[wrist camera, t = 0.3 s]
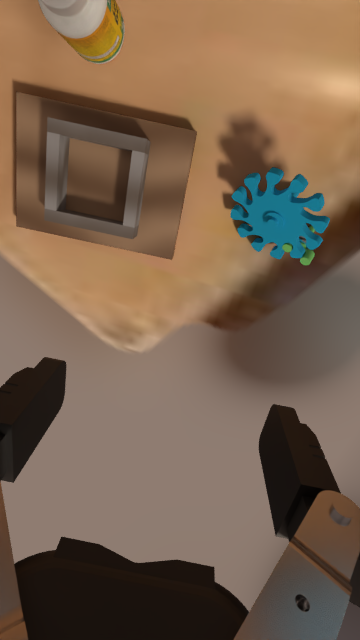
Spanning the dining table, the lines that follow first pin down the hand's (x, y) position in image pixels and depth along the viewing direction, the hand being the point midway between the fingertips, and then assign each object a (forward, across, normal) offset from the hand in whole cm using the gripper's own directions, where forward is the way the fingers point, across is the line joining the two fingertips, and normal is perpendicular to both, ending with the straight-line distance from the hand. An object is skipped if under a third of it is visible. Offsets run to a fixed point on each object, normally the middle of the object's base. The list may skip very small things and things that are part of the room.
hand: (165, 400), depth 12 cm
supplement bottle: (+28, +13, -19) cm, 36 cm away
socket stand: (+28, +11, -6) cm, 31 cm away
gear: (+28, -8, -6) cm, 30 cm away
